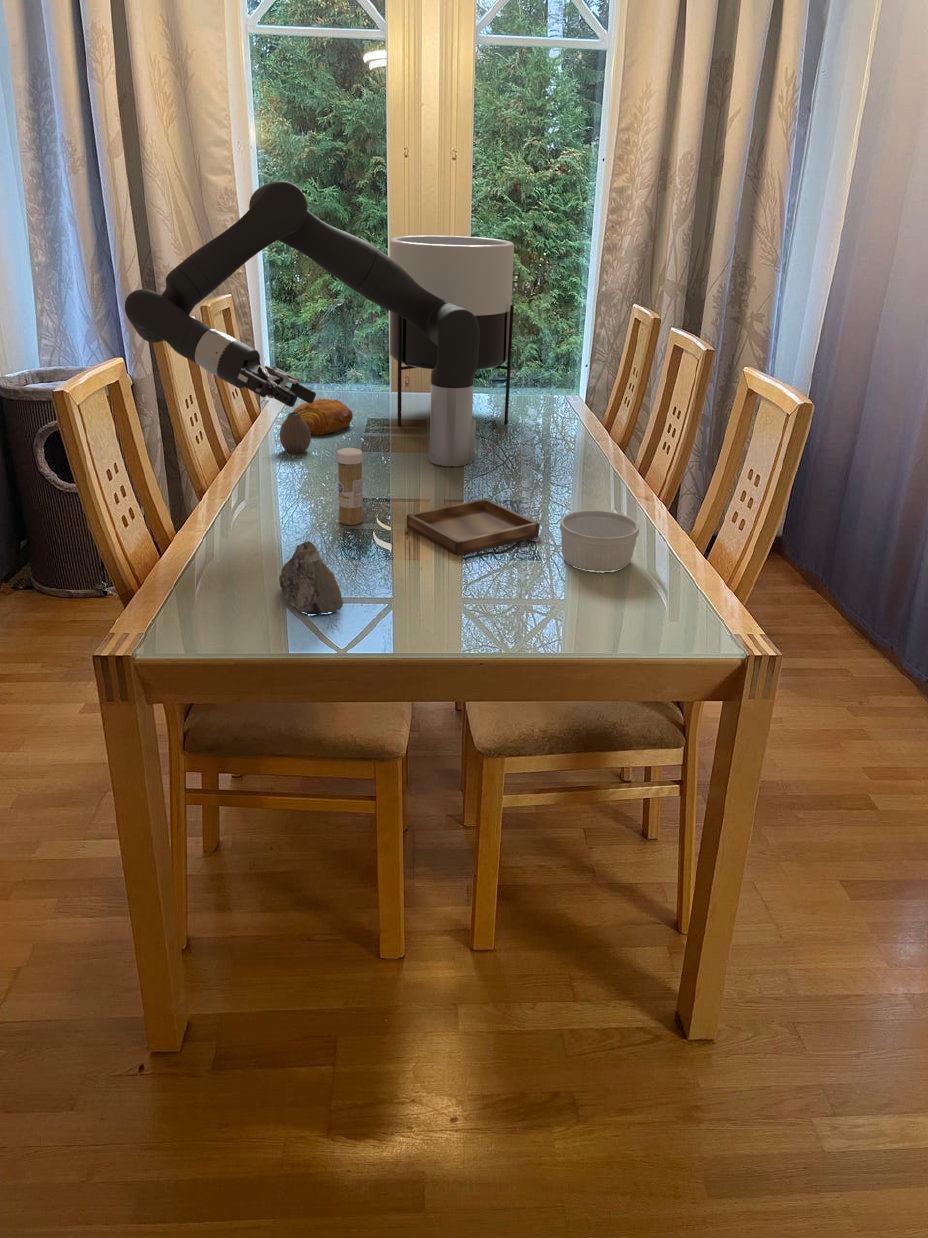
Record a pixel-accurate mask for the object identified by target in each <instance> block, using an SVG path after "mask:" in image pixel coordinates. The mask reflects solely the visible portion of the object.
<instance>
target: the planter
mask: <svg viewBox="0 0 928 1238" xmlns="http://www.w3.org/2000/svg"><path fill="white" fill-rule="evenodd" d="M514 256H515V244H514V243H513V242H512V241H509V240H507V239H506V240H505V239H497V238H488V237H479V236H477V237H476V236H461V235H460V236H459V235H405V236H404V235H403V236H397V237H396V236H395V237H392V238H390V239H389V257H390V258H391V259H392V260H394V261H395V262H396V263H397V264H399V265H400V266H401V267H402V268H403V269H404V270H405V271H406V272H407V273H408V274H409V275H410V276H411V277H412V278H413V279H414V280H415V281H416V282H417V283H418V284H419V285H420V286H421V287H423V288H424V289H426V290H427V291H429V292H430V293H432V294H434V295H436V296H437V297H439V298H441V299H443V300H445V301H447V302H449V303H451V304H454V305H457V306H459V307H462V308H464V309H467V310H468V311H470V312H471V313H473V314H474V316H475V317H476V319H477V321H478V324H479V333H480V337H479V353H478V365H477V370H478V371H480V370H487V369H498V370H499V369H500V370H506V383H505V384H506V385H505V398H504V399H505V400H504V402H505V403H504V420H503V425H504V426H507V425H508V423H509V404H510V403H509V401H510V387H511V383H510V382H511V370H512V369H511V365H512V348H513V347H512V346H513V329H514V312H515V309H514V308H515V305H514V304H512V298H513V297H512V295H513V276H514ZM437 348H438V346H437V345H436V344H435V343H434V342H433V341H431V340H430V339H429V338H428V337H427V336H426V335H425V334H424V333H422V332H421V331H420V330H419V329H418V328H416V327H415V326H414V325H413V324H411V323H410V322H409V321H407V320H406V319H404V318H403V317H401V316H399V315H397V314H395V313H393V312H391V311H389V356H390V358H391V359H392V360H393V361H395V362H396V363H397V427H398V426H401V427H402V371H404V370H411V369H417V368H418V369H424V370H425V369H426V370H431V371H432V370H433V369H434V368H435V367H436V364H437ZM506 363H507V364H506ZM504 364H506V366H505V365H504ZM402 365H404V366H402Z"/></svg>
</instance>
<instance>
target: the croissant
mask: <svg viewBox="0 0 928 1238" xmlns="http://www.w3.org/2000/svg"><path fill="white" fill-rule="evenodd" d="M292 412H299V413H300V415H301V417H302V418H303V420H304V421H305V422H306V423H307V425H308V427H309V429H310V433H311V435H314V436H321V435H326V434H330V433H334V432H337V431H340V430H341V429H345V428H346V427H348V426H349V425H350V424H351V422H352V420H353V418H354V417H353V411H352V410H351V409H350V408H349V407H348V406H347V405H346V404H344V403H343V402H342V401H340V400H337V399H329V398H318V399H314V401H313V403H307V402H305V403H303V404H300V405H299V406H298V407H296V408H295V409H294V410H293V411H292Z"/></svg>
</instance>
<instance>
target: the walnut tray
mask: <svg viewBox="0 0 928 1238" xmlns="http://www.w3.org/2000/svg"><path fill="white" fill-rule="evenodd" d="M406 528H407V529H409V530H410V531H411V532H413V533H415V534H417V535H418V536H420V537H422V538H424V539H426V540H427V541H430V542H431V543H433V544H435V545H436V544H437V546H438V545H439V546H438V547H441V549H443V550H446V551H447V552H449V553H451V554H452V553H453V555H454V556H456V557H460V556H464V555H465V556H466V555H468V554H473V553H476V552H480V551H485V550H489V549H493V548H497V547H501V546H505V545H508V544H509V545H510V544H513V543H516V542H521V541H526V540H530V539H534V538H537V537H539V534H540V533H539V531H540V522H537V521H535V520H533V519H531V518H529V517H527V516H524V515H522V514H520V513H518V512H516V511H514V510H512V509H509V508H507V507H506V506H503V505H501V504H499V503H497V502H494V501H492V500H490V499H488V498H481V499H474V500H470V501H466V502H465V501H464V502H461V503H457V504H452V505H447V506H446V505H445V506H443V507H437V508H433V509H427V510H423V511H419V512H413V513H408V514H406Z"/></svg>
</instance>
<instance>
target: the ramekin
mask: <svg viewBox="0 0 928 1238" xmlns="http://www.w3.org/2000/svg"><path fill="white" fill-rule="evenodd" d="M559 530H560V540H561V543H560V545H561V555H562V558H563V559H564V561H566V563H567V564H568V563H569V564H570V565H572V566H575V567H577V568H581V569H585V570H594V571H612V570H618V569H621V568H623V569H625V568H626V567H628V565H629V564H630V563H631V560H632V558H633V554H634V551H635V547H636V541H637V538H638V537H639V533H640V525H639V523H638V522H637V521H636V520H635V519H634V518H631V517H629V516H627V515H626V514H625V515H624V514H621V513H619V512H613V511H608V510H599V509H598V510H596V509H591V510H589V509H588V510H587V509H586V510H578V511H577V510H576V511H572V512H570V513H567V514H565V515H564V516H563V517H562V518H561V519H560V524H559ZM569 564H568V565H569ZM570 565H569V566H570ZM572 566H571V567H572ZM625 566H626V567H625ZM624 567H625V568H624Z"/></svg>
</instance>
